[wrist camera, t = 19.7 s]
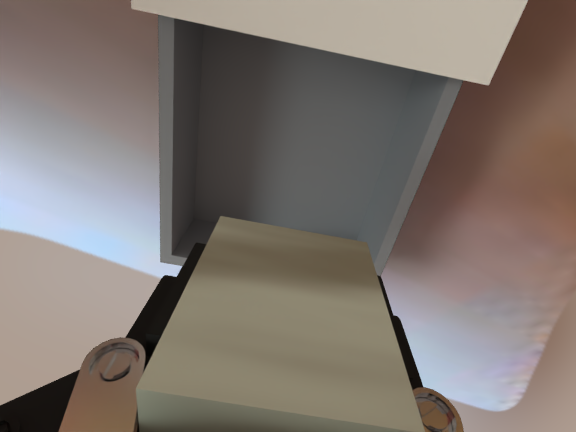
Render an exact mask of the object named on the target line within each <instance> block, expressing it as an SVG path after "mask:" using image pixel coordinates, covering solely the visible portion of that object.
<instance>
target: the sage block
mask: <svg viewBox="0 0 576 432" xmlns="http://www.w3.org/2000/svg"><path fill="white" fill-rule="evenodd" d="M136 397H137V408H138V420H139V431H140V432H425V430H424V426H423V423H422V420H421V417H420V413H419V410H418V407H417V404H416V400H415V397H414V394H413V391H412V387H411V384H410V381H409V378H408V374H407V371H406V368H405V365H404V361H403V358H402V355H401V352H400V348H399V345H398V342H397V339H396V335H395V332H394V329H393V326H392V322H391V319H390V316H389V312H388V309H387V306H386V303H385V299H384V296H383V293H382V290H381V286H380V283H379V280H378V277H377V273H376V270H375V267H374V264H373V260H372V257H371V254H370V251H369V247H368V244H367V242H362V241H357V240H351V239H345V238H340V237H334V236H329V235H323V234H318V233H312V232H307V231H301V230H296V229H290V228H285V227H279V226H274V225H268V224H263V223H257V222H251V221H246V220H240V219H235V218H229V217H224V216H220V218H219V220H218V222H217V224H216V226H215V228H214V230H213V232H212V234H211V236H210V238H209V241H208V243H207V245H206V247H205V249H204V251H203V253H202V255H201V257H200V259H199V261H198V263H197V265H196V267H195V269H194V271H193V273H192V275H191V277H190V279H189V281H188V283H187V285H186V287H185V289H184V291H183V293H182V295H181V298H180V300H179V302H178V304H177V306H176V308H175V310H174V312H173V314H172V316H171V318H170V320H169V322H168V324H167V326H166V328H165V330H164V332H163V334H162V336H161V338H160V340H159V342H158V344H157V346H156V348H155V350H154V352H153V354H152V357H151V359H150V361H149V363H148V365H147V367H146V369H145V371H144V373H143V375H142V377H141V379H140V381H139V383H138V385H137V387H136Z"/></svg>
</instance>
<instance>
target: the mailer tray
mask: <svg viewBox="0 0 576 432" xmlns="http://www.w3.org/2000/svg"><path fill="white" fill-rule="evenodd" d="M158 52H159V158H160V262H163V263H168V264H174V265H180V266H183V265H184V263H185V261H186V259H187V257H188V256H189V254H190V252H191V250H192V248H193V247H194V245H195V243H203V244H207V243H208V241H209V238H210V236H211V234H212V232H213V230H214V228H215V226H216V224H217V222H218V220H219V218H220V216H224V217H229V218H235V219H240V220H246V221H251V222H257V223H263V224H268V225H274V226H279V227H285V228H290V229H296V230H301V231H307V232H312V233H318V234H323V235H329V236H334V237H340V238H345V239H351V240H357V241H362V242H367V244H368V247H369V251H370V254H371V257H372V260H373V264H374V267H375V270H376V273H377V275H378V276H381V274H382V272H383V269H384V267H385V265H386V262H387V260H388V257H389V255H390V253H391V250H392V248H393V246H394V243H395V241H396V239H397V236H398V234H399V231H400V229H401V227H402V224H403V222H404V220H405V217H406V215H407V213H408V210H409V208H410V205H411V203H412V201H413V198H414V196H415V194H416V191H417V189H418V187H419V184H420V182H421V180H422V177H423V175H424V172H425V170H426V168H427V165H428V163H429V161H430V158H431V156H432V154H433V151H434V149H435V146H436V144H437V142H438V139H439V137H440V135H441V132H442V130H443V128H444V125H445V123H446V121H447V118H448V116H449V113H450V111H451V109H452V106H453V104H454V102H455V99H456V97H457V95H458V92H459V90H460V87H461V85H462V83H463V80H460V79H456V78H451V77H446V76H442V75H437V74H432V73H428V72H423V71H418V70H414V69H409V68H404V67H400V66H395V65H390V64H386V63H381V62H377V61H372V60H367V59H363V58H358V57H353V56H349V55H344V54H339V53H335V52H330V51H325V50H321V49H316V48H311V47H307V46H302V45H298V44H293V43H288V42H284V41H279V40H274V39H270V38H265V37H260V36H256V35H251V34H246V33H242V32H237V31H232V30H228V29H223V28H218V27H214V26H209V25H205V24H200V23H195V22H191V21H186V20H181V19H177V18H172V17H167V16H163V15H158Z"/></svg>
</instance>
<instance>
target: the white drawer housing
mask: <svg viewBox="0 0 576 432" xmlns="http://www.w3.org/2000/svg"><path fill="white" fill-rule="evenodd" d="M527 2H528V0H131V9H135V10H139V11H144V12H149V13H153V14H158V15H163V16H167V17H172V18H177V19H181V20H186V21H191V22H195V23H200V24H205V25H209V26H214V27H218V28H223V29H228V30H232V31H237V32H242V33H246V34H251V35H256V36H260V37H265V38H270V39H274V40H279V41H284V42H288V43H293V44H298V45H302V46H307V47H311V48H316V49H321V50H325V51H330V52H335V53H339V54H344V55H349V56H353V57H358V58H363V59H367V60H372V61H377V62H381V63H386V64H390V65H395V66H400V67H404V68H409V69H414V70H418V71H423V72H428V73H432V74H437V75H442V76H446V77H451V78H456V79H460V80H465V81H469V82H474V83H479V84H483V85H488V86H489V84H490V82H491V79H492V77H493V75H494V73H495V71H496V69H497V66H498V64H499V62H500V60H501V58H502V56H503V53H504V51H505V49H506V47H507V45H508V43H509V41H510V38H511V36H512V34H513V32H514V30H515V28H516V25H517V23H518V21H519V19H520V17H521V15H522V12H523V10H524V8H525V6H526V4H527Z"/></svg>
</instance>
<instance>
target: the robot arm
mask: <svg viewBox="0 0 576 432" xmlns="http://www.w3.org/2000/svg"><path fill="white" fill-rule="evenodd" d="M206 245H207V244H203V243H195V245H194V247H193V248H192V250H191V252H190V254H189V256H188V257H187V259H186V261H185V263H184V265H183V267H182V268H181V270H180V272H179V274H178V276H177V277H173V276H168V275H165V276H163V278H162V279H161V280H160V282H159V284H158V285H157V287H156V289H155V290H154V292H153V293H152V295H151V297H150V298H149V300H148V302H147V303H146V305H145V307H144V308H143V310H142V311H141V313H140V315H139V316H138V318H137V320H136V321H135V323H134V325H133V326H132V328H131V329H130V331H129V333H128V334H127V336H126V338H115V339H110V340H108V341H105V342H103V343H101V344H99V345H98V346H96V347H95V348H93V349H92V350H91V352H89V353H88V355H87V356H86V357H85V359H84V361H83V363H82V366H81V369H80V370H78V371H76V372H73V373H71V374H69V375H67V376H65V377H62V378H60V379H58V380H56V381H54V382H51V383H49V384H47V385H45V386H43V387H40V388H38V389H36V390H34V391H31V392H29V393H27V394H25V395H23V396H21V397H18V398H16V399H14V400H12V401H9V402H7V403H5V404H3V405H0V432H140V431H139V420H138V408H137V397H136V387H137V385H138V383H139V381H140V379H141V377H142V375H143V373H144V371H145V369H146V367H147V365H148V363H149V361H150V359H151V357H152V354H153V352H154V350H155V348H156V346H157V344H158V342H159V340H160V338H161V336H162V334H163V332H164V330H165V328H166V326H167V324H168V322H169V320H170V318H171V316H172V314H173V312H174V310H175V308H176V306H177V304H178V302H179V300H180V298H181V295H182V293H183V291H184V289H185V287H186V285H187V283H188V281H189V279H190V277H191V275H192V273H193V271H194V269H195V267H196V265H197V263H198V261H199V259H200V257H201V255H202V253H203V251H204V249H205V247H206ZM377 277H378V280H379V283H380V286H381V290H382V293H383V296H384V299H385V303H386V306H387V309H388V312H389V316H390V319H391V322H392V326H393V329H394V332H395V335H396V339H397V342H398V345H399V348H400V352H401V355H402V358H403V361H404V365H405V368H406V371H407V374H408V378H409V381H410V384H411V387H412V391H413V394H414V397H415V400H416V404H417V407H418V410H419V413H420V417H421V420H422V423H423V426H424V430H425V432H464V431H463V425H462V422H461V418H460V416H459V414H458V412H457V410H456V409H455V407H454V406H453V405H452V404H451V403H450V401H449V400H448V399H446V398H445V397H444V396H443V395H441V394H440V393H438V392H436V391H434V390H432V389H429V388H425V387H423V385H422V382H421V379H420V376H419V373H418V370H417V367H416V364H415V361H414V358H413V355H412V352H411V349H410V347H409V344H408V341H407V338H406V335H405V332H404V329H403V326H402V323H401V321H400V319H399V317H397V316H393V313H392V310H391V307H390V303H389V300H388V297H387V294H386V291H385V288H384V285H383V282H382V279H381V277H380V276H378V275H377Z"/></svg>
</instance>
